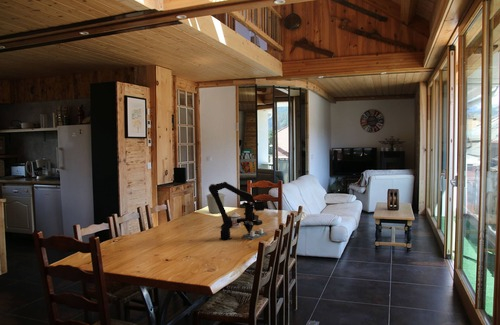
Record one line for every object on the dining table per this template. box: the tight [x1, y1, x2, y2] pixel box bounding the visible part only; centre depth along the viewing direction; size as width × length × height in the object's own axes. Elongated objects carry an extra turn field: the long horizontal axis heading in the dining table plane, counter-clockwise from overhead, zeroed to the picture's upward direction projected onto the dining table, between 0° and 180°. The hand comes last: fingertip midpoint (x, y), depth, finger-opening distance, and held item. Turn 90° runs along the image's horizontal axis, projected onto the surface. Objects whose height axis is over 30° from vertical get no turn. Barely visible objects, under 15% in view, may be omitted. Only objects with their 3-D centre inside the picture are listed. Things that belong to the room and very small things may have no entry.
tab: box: [258, 228, 265, 233], centre depth 272 cm, size 3×3×3 cm
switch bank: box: [241, 230, 268, 241], centre depth 270 cm, size 18×9×2 cm, turn 142°
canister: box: [205, 192, 226, 215], centre depth 367 cm, size 18×18×21 cm
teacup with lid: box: [229, 211, 244, 229], centre depth 301 cm, size 12×9×12 cm
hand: (249, 233), depth 266 cm, fingers closed
